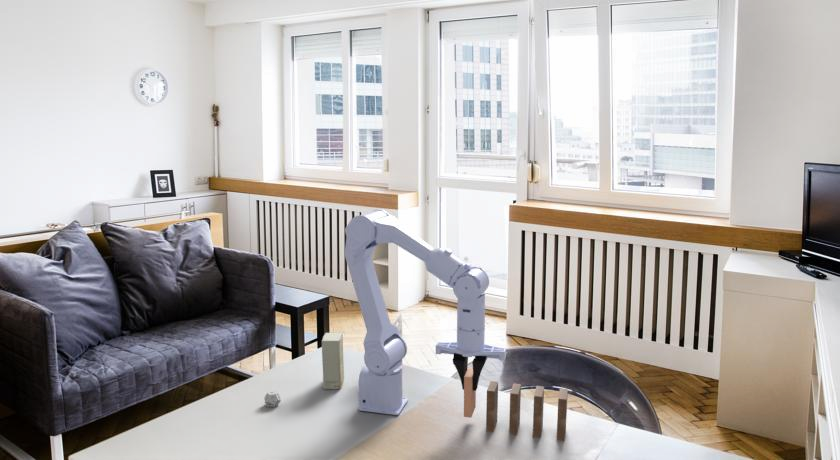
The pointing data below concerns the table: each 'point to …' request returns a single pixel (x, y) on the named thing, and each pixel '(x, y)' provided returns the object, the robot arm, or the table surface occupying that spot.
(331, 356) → the skincare box
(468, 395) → the head domino
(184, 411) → the table surface
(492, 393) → the domino
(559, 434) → the domino
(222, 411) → the table surface
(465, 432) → the table surface
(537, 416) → the domino
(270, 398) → the game die
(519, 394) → the domino
